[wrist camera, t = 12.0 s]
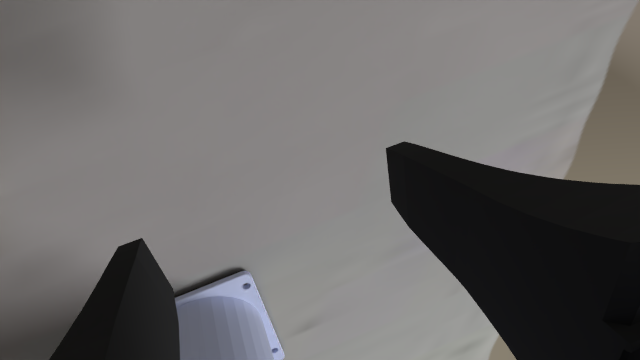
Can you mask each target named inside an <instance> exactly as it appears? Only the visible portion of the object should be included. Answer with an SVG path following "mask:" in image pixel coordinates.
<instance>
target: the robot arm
mask: <svg viewBox="0 0 640 360" xmlns="http://www.w3.org/2000/svg"><path fill="white" fill-rule="evenodd" d="M386 154H387V163H388V173H389V183H390V193H391V202H392V203H393V205H394V206H395V208H396V209H397V211H398V212H399V214H400V215H401V217H402V218H403V219H404V221H405V222H406V224H407V225H408V226H409V228H410V229H411V230H412V231H413V232H414V233H415V234H416V235H417V236H418V237H419V239H420V240H421V241H422V242H423V243H424V244H425V245H426V246H427V247H428V248H429V249H430V250H431V251H432V252H433V254H434V255H435V256H436V257H437V258H438V259H439V260H440V261H441V262H442V263H443V264H444V265H445V266H446V267H447V268H448V270H449V271H450V272H451V273H452V274H453V275H454V276H455V277H456V278H457V279H458V281H459V282H460V283H461V284H462V285H463V286H464V288H465V289H466V290H467V291H468V293H469V294H470V295H471V297H472V298H473V299H474V301H475V302H476V303H477V305H478V306H479V307H480V309H481V310H482V311H483V312H484V314H485V315H486V317H487V318H488V319H489V321H490V322H491V324H492V325H493V326H494V328H495V329H496V330H497V332H498V333H499V335H500V336H501V337H502V339H503V340H504V342H505V343H506V344H507V346H508V347H509V349H510V350H511V352H512V353H513V355H514V356H515V358H516V359H517V360H640V185H627V184H626V185H625V184H607V183H592V182H582V181H571V180H563V179H555V178H548V177H542V176H536V175H530V174H524V173H519V172H514V171H509V170H504V169H500V168H496V167H492V166H488V165H484V164H480V163H476V162H473V161H469V160H466V159H462V158H459V157H455V156H452V155H449V154H445V153H442V152H439V151H436V150H433V149H429V148H426V147H423V146H419V145H416V144H412V143H408V142H402V143H399V144H396V145H393V146H391V147H388V148H386ZM245 283H248V284H247V285H244V284H245ZM284 357H285V356H284V352H283V349H282V347H281V345H280V342H279V340H278V338H277V335H276V333H275V330H274V328H273V326H272V323H271V321H270V318H269V316H268V314H267V311H266V309H265V307H264V304H263V302H262V299H261V297H260V295H259V292H258V290H257V287H256V285H255V283H254V280H253V278H252V276H251V274H250V272H248V271H241V272H238V273H236V274H233V275H231V276H228V277H226V278H223V279H221V280H218V281H216V282H213V283H211V284H208V285H206V286H204V287H201V288H199V289H196V290H194V291H191V292H189V293H186V294H184V295H181V296H179V297H176V298H174V292H173V288H172V287H171V285H170V283H169V282H168V280H167V278H166V277H165V275H164V273H163V272H162V270H161V268H160V267H159V265H158V263H157V262H156V260H155V259H154V257H153V255H152V254H151V252H150V250H149V249H148V247H147V245H146V244H145V242H144V240H143V239H142V238H141V239H138V240H135V241H133V242H130V243H127V244H124V245H122V246H119V247H118V248H117V250H116V252H115V253H114V255H113V257H112V259H111V260H110V262H109V264H108V266H107V267H106V269H105V271H104V273H103V275H102V276H101V278H100V280H99V282H98V283H97V285H96V287H95V289H94V290H93V292H92V294H91V295H90V297H89V299H88V301H87V302H86V304H85V306H84V307H83V309H82V311H81V312H80V314H79V315H78V317H77V318H76V320H75V322H74V323H73V325H72V326H71V328H70V329H69V331H68V332H67V334H66V335H65V337H64V339H63V340H62V342H61V343H60V345H59V346H58V348H57V349H56V351H55V352H54V353H53V355H52V356H51V358H50V359H49V360H283V359H284Z"/></svg>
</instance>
